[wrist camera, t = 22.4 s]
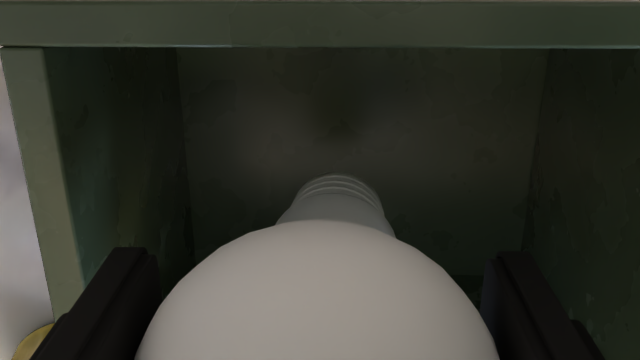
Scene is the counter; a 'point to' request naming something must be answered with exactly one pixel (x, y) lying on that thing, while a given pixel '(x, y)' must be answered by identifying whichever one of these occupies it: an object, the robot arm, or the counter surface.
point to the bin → (337, 132)
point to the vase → (31, 343)
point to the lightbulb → (319, 292)
